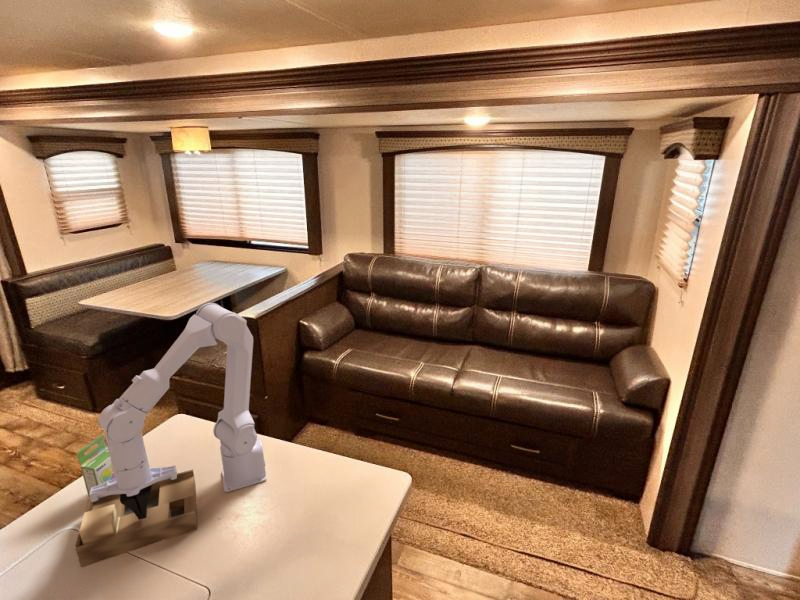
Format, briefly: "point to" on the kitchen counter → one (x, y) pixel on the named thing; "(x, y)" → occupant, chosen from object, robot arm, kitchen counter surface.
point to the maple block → (99, 524)
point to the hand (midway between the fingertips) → (142, 515)
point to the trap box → (145, 519)
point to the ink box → (96, 464)
